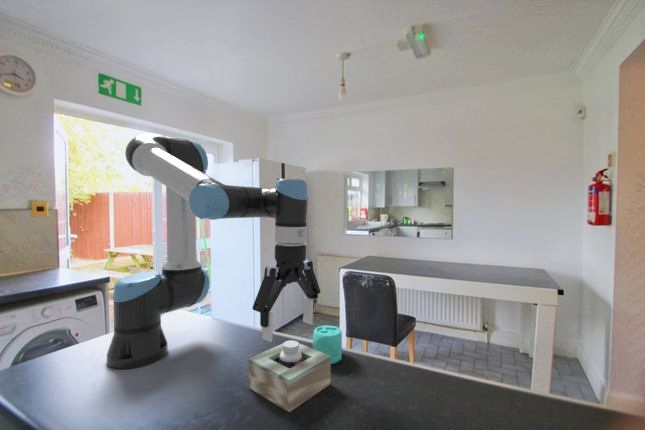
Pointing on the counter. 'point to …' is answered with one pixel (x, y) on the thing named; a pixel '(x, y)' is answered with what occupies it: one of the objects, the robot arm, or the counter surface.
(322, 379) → the grey hollow square block
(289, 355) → the pill bottle
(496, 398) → the counter surface
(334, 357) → the engraved teal number block
